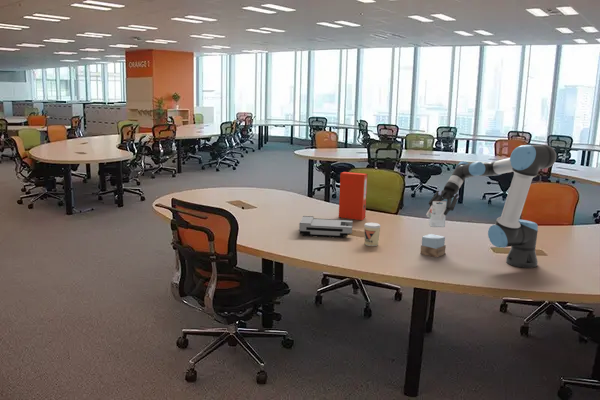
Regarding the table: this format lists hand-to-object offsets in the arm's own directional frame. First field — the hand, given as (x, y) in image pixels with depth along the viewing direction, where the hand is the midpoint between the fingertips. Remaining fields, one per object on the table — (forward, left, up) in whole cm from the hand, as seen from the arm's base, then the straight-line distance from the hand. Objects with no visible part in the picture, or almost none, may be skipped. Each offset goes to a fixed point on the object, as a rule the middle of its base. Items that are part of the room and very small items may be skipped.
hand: (434, 217), depth 283 cm
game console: (+69, +3, -21) cm, 72 cm away
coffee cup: (+35, +6, -21) cm, 41 cm away
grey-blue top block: (0, -1, -16) cm, 16 cm away
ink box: (-1, -4, -6) cm, 7 cm away
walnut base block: (0, -1, -21) cm, 21 cm away
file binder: (+80, -44, -21) cm, 93 cm away
